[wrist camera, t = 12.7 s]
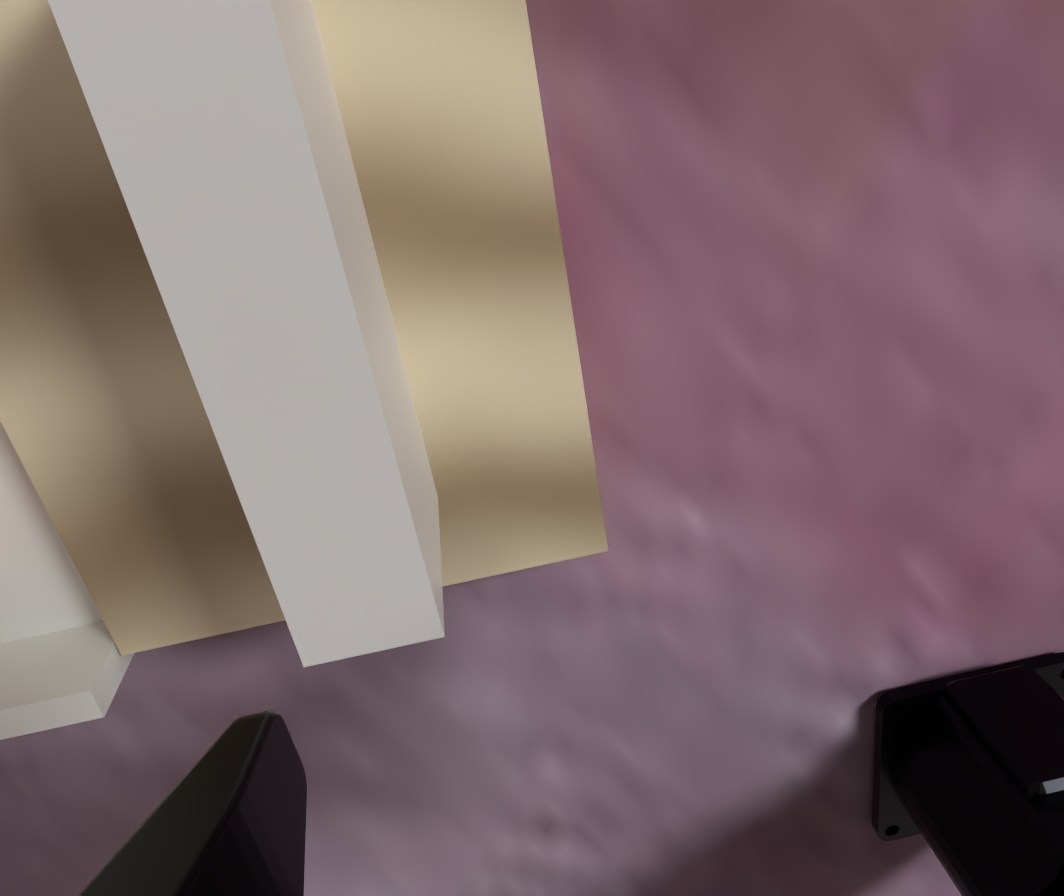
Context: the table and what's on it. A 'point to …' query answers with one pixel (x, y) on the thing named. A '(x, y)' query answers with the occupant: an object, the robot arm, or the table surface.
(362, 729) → the table surface
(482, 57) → the board
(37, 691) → the tray
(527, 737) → the table surface
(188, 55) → the long grey plank
